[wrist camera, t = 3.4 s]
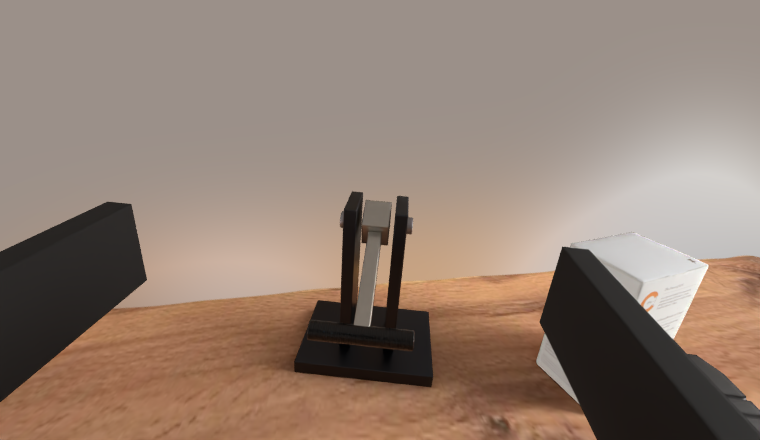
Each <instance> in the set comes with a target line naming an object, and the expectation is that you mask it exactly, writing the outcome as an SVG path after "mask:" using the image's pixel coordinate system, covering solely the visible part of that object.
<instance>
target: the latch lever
mask: <svg viewBox="0 0 760 440" xmlns="http://www.w3.org/2000/svg"><path fill="white" fill-rule="evenodd" d="M391 205H392V203H391V202H382V201H370V200H366V203H365V208H364V213H363V219H362V243H366V249H365V256H364V262H363V269H362V276H361V282H360V288H359V294H358V300H357V307H356V313H355V320H354V324H348V323H339V322H329V321H320V320H310V322H309V324H308V328H307V339H308V340H312V341H321V342H331V343H340V344H349V345H358V346H367V347H376V348H385V349H395V350H404V351H413V348H414V336H415V333H414V331H413V330H404V329H395V328H385V327H376V326H371V320H372V312H373V304H374V296H375V287H376V279H377V271H378V262H379V255H380V246H381V245H388V237H389V228H390V217H391Z"/></svg>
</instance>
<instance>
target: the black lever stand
mask: <svg viewBox="0 0 760 440" xmlns="http://www.w3.org/2000/svg"><path fill="white" fill-rule="evenodd" d="M362 202H363V193H362V192H352V193H351V195H350V197H349V200H348V202H347V204H346V206H345V208H344V211H342V213H341V217H340V227H341V228H343V246H342V276H341V277H342V278H341V303H339V302H330V301H320V300H318V302H317V304H316V307H315V309H314V312H313V315H312V317H311V320H320V321H329V322H339V323H348V324H354V320H355V313H356V307H357V294H358V275H359V258H360V240H361V221H362ZM412 227H413V218H409V217H408V197H403V196H397V203H396V213H395V224H394V234H393V245H392V255H391V266H390V276H389V277H390V278H389V287H388V298H387V307H377V306H373V312H372V320H371V326H376V327H385V328H395V329H404V330H413V331H414V333H415V336H414V348H413V351H404V350H395V349H385V348H376V347H367V346H358V345H349V344H340V343H331V342H321V341H312V340H308V339H307V330H306V333H305V335H304V338H303V340H302V343H301V346H300V348H299V351H298V353H297V356H296V359H295V361H294V366H295V372H303V373H311V374H320V375H329V376H338V377H347V378H356V379H364V380H373V381H382V382H391V383H400V384H409V385H417V386H426V387H431V386H432V380H433V369H432V355H431V341H430V326H429V312H425V311H416V310H406V309H398V305H399V296H400V287H401V278H402V269H403V259H404V250H405V240H406V234H412ZM307 328H308V327H307Z"/></svg>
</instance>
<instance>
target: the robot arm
mask: <svg viewBox="0 0 760 440" xmlns="http://www.w3.org/2000/svg"><path fill="white" fill-rule="evenodd" d="M146 280H147V278H146V274H145V269H144V264H143V259H142V254H141V249H140V244H139V239H138V234H137V230H136V225H135V220H134V215H133V210H132V206H131V204H125V203H115V202H106V203H104V204H102V205H100V206H97V207H95V208H93V209H91V210H89V211H87V212H85V213H82V214H80V215H78V216H76V217H74V218H72V219H70V220H67V221H65V222H63V223H61V224H59V225H57V226H54V227H52V228H50V229H48V230H46V231H44V232H42V233H40V234H37V235H35V236H33V237H31V238H29V239H27V240H25V241H23V242H20V243H18V244H16V245H14V246H12V247H9V248H7V249H5V250H3V251H1V252H0V402H1V401H2V400H3V399H5V398H6V397H7V396H8V395H9V394H11V393H12V392H13V391H14V390H15V389H17V388H18V387H19V386H20V385H21V384H23V383H24V382H25V381H26V380H27V379H29V378H30V377H31V376H32V375H33V374H35V373H36V372H37V371H38V370H39V369H41V368H42V367H43V366H44V365H45V364H47V363H48V362H49V361H50V360H51V359H53V358H54V357H55V356H56V355H58V354H59V353H60V352H61V351H62V350H64V349H65V348H66V347H67V346H68V345H70V344H71V343H72V342H73V341H74V340H76V339H77V338H78V337H79V336H80V335H82V334H83V333H84V332H85V331H86V330H88V329H89V328H90V327H91V326H92V325H94V324H95V323H96V322H97V321H98V320H100V319H101V318H102V317H103V316H104V315H106V314H107V313H108V312H109V311H110V310H112V309H113V308H114V307H115V306H116V305H118V304H119V303H120V302H121V301H122V300H124V299H125V298H126V297H127V296H128V295H129V294H130V293H132V292H133V291H134V290H135V289H137V288H138V287H139V286H140V285H142V284H143V283H144V282H145V281H146ZM540 324H541V326H542V328H543V330H544V332H545V334H546V336H547V338H548V340H549V343H550V345H551V347H552V349H553V351H554V353H555V355H556V357H557V359H558V361H559V363H560V365H561V367H562V369H563V371H564V373H565V375H566V377H567V379H568V381H569V383H570V385H571V387H572V390H573V392H574V394H575V396H576V398H577V400H578V402H579V404H580V406H581V408H582V410H583V412H584V414H585V416H586V418H587V420H588V422H589V424H590V426H591V428H592V430H593V432H594V435H595V437H596V439H597V440H760V410H759V409H758V408H757V407H756V406H755V405H754V404H753V403H752V402H751V401H747V400H746V396H745V395H744V394H743V393H742V392H741V391H740V390H739V389H738V388H737V387H736V386H735V385H734V384H733V383H732V382H731V381H730V380H729V379H728V378H727V377H726V376H725V375H724V374H723V373H721V372H720V371H718V370H717V369H716V368H714V367H713V366H711V365H710V364H708V363H707V362H705V361H704V360H703V359H701V358H700V357H698V356H697V355H692V354H686V353H685V352H684V350H683V349H682V348H681V347H680V346H679V345H678V344H677V343H676V342H675V341H674V340H673V339H672V338H671V337H670V336H669V334H668V333H667V332H666V331H665V330H664V329H663V328H662V327H661V326H660V325H659V324H658V323H657V322H656V321H655V320H654V318H653V317H652V316H651V315H650V314H649V313H648V312H647V311H646V310H645V309H644V308H643V307H642V306H641V305H640V304H639V302H638V301H637V300H636V299H635V298H634V297H633V296H632V295H631V294H630V293H629V292H628V291H627V290H626V289H625V288H624V286H623V285H622V284H621V283H620V282H619V281H618V280H617V279H616V278H615V277H614V276H613V275H612V274H611V273H610V272H609V270H608V269H607V268H606V267H605V266H604V265H603V264H602V263H601V262H600V261H599V260H598V259H597V258H596V257H595V255H594V254H593V253H592V252H591V251H590V250H589V249H579V248H569V247H562V250H561V253H560V257H559V260H558V263H557V266H556V270H555V273H554V276H553V279H552V283H551V286H550V289H549V293H548V296H547V299H546V303H545V306H544V309H543V313H542V316H541V319H540Z"/></svg>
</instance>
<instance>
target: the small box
mask: <svg viewBox="0 0 760 440" xmlns="http://www.w3.org/2000/svg"><path fill="white" fill-rule="evenodd" d="M570 248H579V249H589V250H590V251H591V252H592V253H593V254H594V255H595V257H596V258H597V259H598V260H599V261H600V262H601V263H602V264H603V265H604V266H605V267H606V268H607V269H608V270H609V272H610V273H611V274H612V275H613V276H614V277H615V278H616V279H617V280H618V281H619V282H620V283H621V284H622V285H623V286H624V288H625V289H626V290H627V291H628V292H629V293H630V294H631V295H632V296H633V297H634V298H635V299H636V300H637V301H638V302H639V304H640V305H641V306H642V307H643V308H644V309H645V310H646V311H647V312H648V313H649V314H650V315H651V316H652V317H653V318H654V320H655V321H656V322H657V323H658V324H659V325H660V326H661V327H662V328H663V329H664V330H665V331H666V332H667V333H668V334H669V336H670V337H671V338H672V339H674V337H675V335H676V333H677V331H678V329H679V327H680V325H681V323H682V321H683V319H684V316H685V314H686V312H687V310H688V308H689V306H690V304H691V302H692V300H693V298H694V296H695V294H696V291H697V289H698V287H699V285H700V283H701V281H702V279H703V277H704V275H705V273H706V270H707V268H708V265H707V264H705V263H703V262H701V261H699V260H697V259H694V258H692V257H691V256H688V255H686V254H684V253H681V252H679V251H677V250H675V249H672V248H670V247H668V246H665V245H663V244H661V243H658V242H656V241H653V240H651V239H649V238H646V237H644V236H641V235H639V234H636V233H634V232H631V233H626V234H621V235H615V236H610V237H605V238H599V239H594V240H588V241H583V242H578V243H572V244H571V246H570ZM536 362H537V365H538V366H540V367H541V368H542V369H543V370H544V371H545V372H546V373H547V374H548V375H549V376H550V377H551V378H552V379H553V380H554V381H556V382H557V383H558V384H559V385H560V386H561V387H562V388H563V389H564V390H565V391H566V392H567V393H568V394H569V395H570V396H571V397H572V398H573V399H574V400H575V401H576V402H577V403H579V402H578V400H577V398H576V396H575V394H574V392H573V390H572V387H571V385H570V383H569V381H568V379H567V377H566V375H565V373H564V371H563V369H562V367H561V365H560V363H559V361H558V359H557V357H556V355H555V353H554V351H553V349H552V347H551V345H550V343H549V340H548V338H547V336H546V334H545V333H544V337H543V340H542V343H541V347H540V350H539V353H538V357H537V360H536Z"/></svg>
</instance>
